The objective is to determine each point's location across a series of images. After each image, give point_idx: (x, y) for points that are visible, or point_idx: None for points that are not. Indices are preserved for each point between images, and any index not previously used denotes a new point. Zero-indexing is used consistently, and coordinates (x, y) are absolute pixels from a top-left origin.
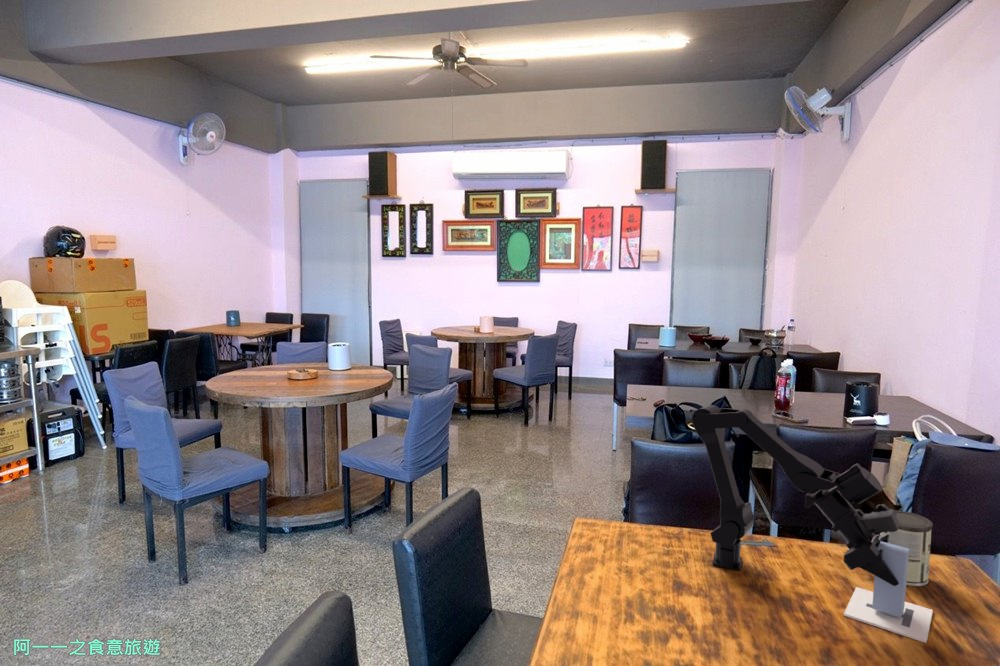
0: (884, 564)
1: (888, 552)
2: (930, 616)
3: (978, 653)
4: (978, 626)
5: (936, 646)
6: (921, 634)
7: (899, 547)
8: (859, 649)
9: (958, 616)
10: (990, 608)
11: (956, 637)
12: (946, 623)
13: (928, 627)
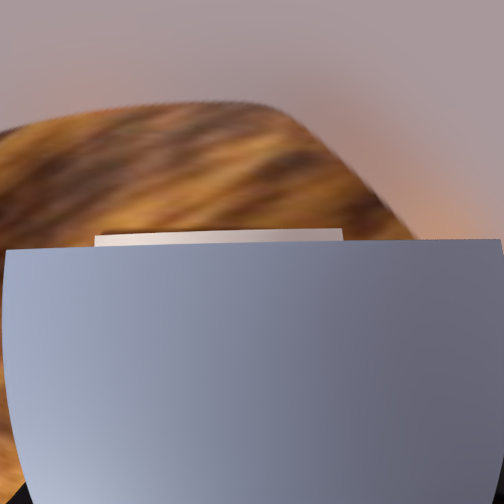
0: None
1: (495, 474)
2: (152, 235)
3: (280, 122)
4: (113, 130)
5: (332, 207)
6: None
7: (93, 451)
8: None
9: (80, 175)
10: (5, 131)
11: (229, 165)
12: (151, 195)
13: (246, 232)
